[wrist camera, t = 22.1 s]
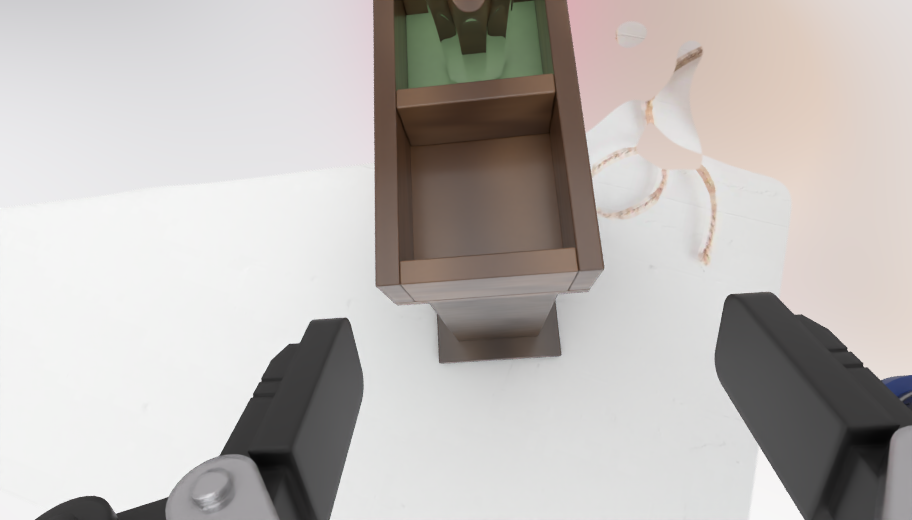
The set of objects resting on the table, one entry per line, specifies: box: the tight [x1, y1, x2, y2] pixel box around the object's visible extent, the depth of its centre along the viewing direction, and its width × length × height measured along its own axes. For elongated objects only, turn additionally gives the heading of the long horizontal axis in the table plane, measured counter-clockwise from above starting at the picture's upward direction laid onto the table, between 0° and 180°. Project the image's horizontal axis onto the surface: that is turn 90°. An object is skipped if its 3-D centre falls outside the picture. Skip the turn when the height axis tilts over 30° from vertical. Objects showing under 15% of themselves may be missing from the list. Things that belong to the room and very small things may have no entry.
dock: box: [373, 0, 604, 305], centre depth 24 cm, size 9×17×4 cm, turn 3°
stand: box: [430, 294, 561, 363], centre depth 39 cm, size 12×18×28 cm, turn 3°
